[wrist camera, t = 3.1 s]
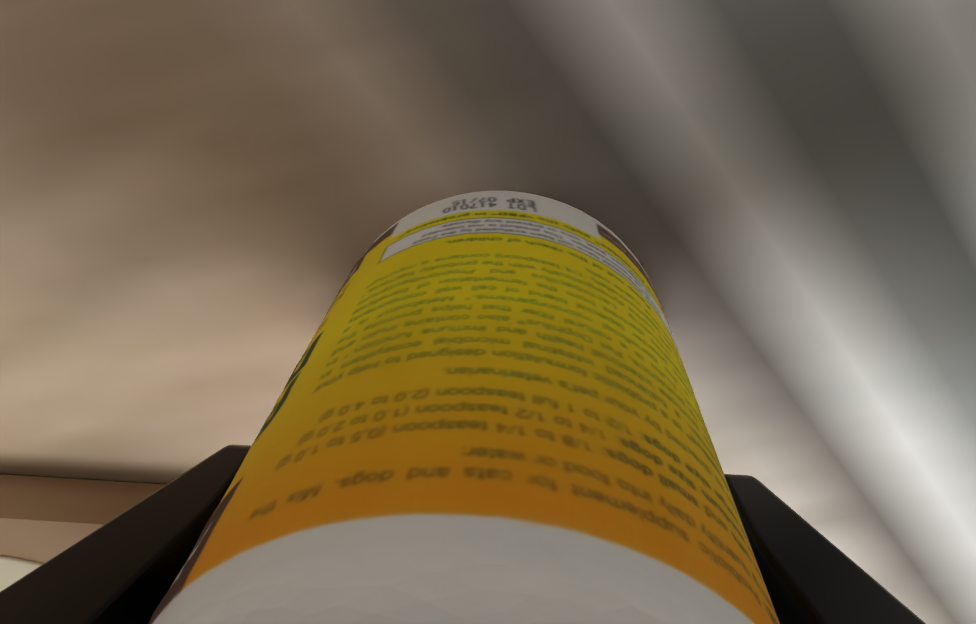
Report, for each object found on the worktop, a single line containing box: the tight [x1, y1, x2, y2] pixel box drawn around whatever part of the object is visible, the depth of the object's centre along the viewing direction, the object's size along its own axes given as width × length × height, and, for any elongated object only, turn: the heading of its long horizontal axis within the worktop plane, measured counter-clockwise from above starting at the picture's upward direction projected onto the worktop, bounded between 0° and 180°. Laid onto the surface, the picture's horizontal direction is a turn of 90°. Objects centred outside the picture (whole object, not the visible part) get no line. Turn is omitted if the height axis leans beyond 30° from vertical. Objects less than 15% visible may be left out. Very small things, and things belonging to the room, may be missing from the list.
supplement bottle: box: [149, 190, 780, 624], centre depth 8 cm, size 6×6×10 cm
